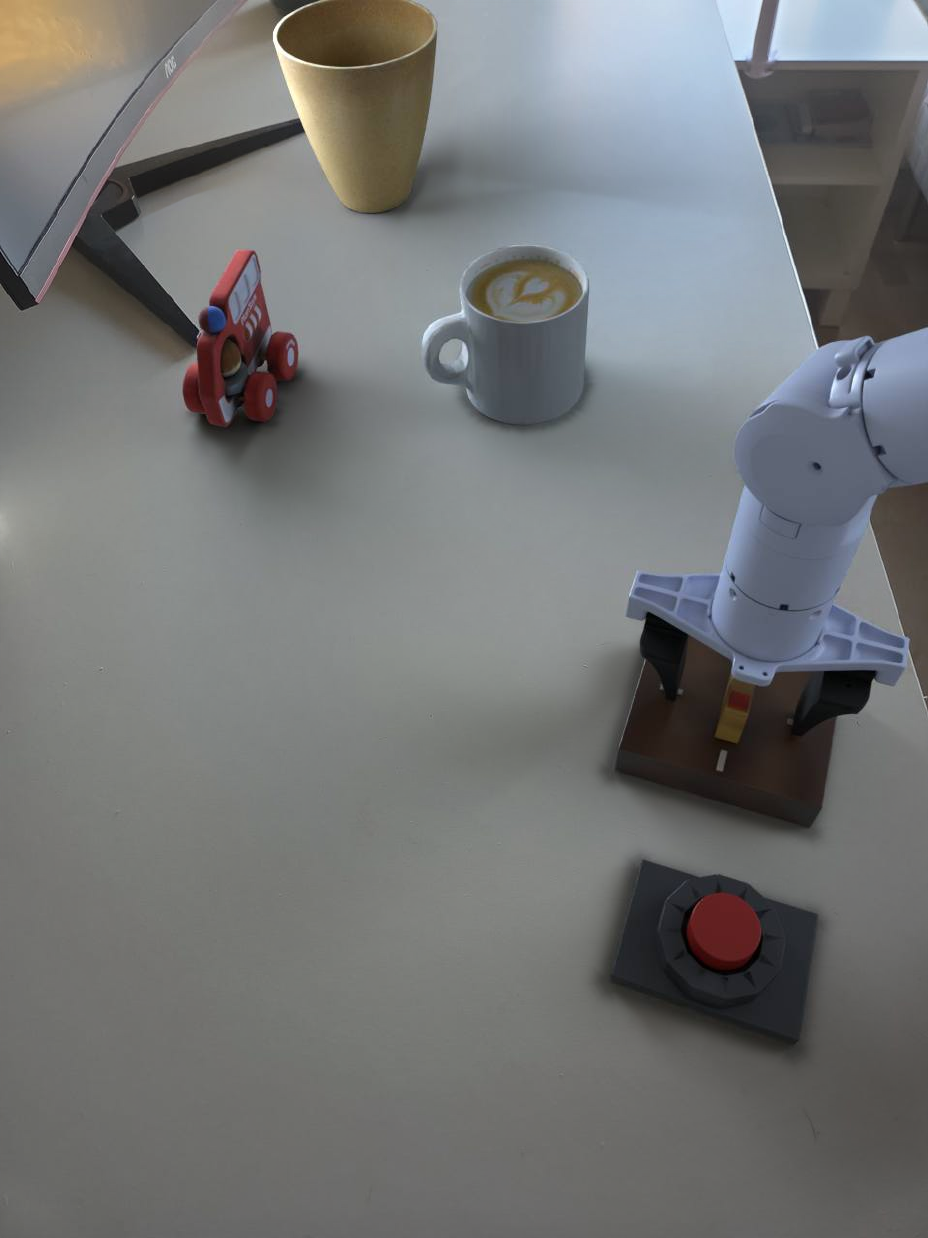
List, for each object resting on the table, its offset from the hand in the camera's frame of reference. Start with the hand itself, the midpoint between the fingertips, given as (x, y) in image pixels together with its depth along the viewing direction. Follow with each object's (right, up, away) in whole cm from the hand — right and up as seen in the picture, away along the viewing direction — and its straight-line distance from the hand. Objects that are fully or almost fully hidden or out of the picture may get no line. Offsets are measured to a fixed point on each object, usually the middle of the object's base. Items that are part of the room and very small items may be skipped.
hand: (735, 704), depth 59 cm
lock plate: (0, -2, +3) cm, 3 cm away
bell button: (-3, -12, -7) cm, 14 cm away
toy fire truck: (-35, +25, +24) cm, 49 cm away
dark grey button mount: (-3, -13, -5) cm, 15 cm away
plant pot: (-26, +49, +41) cm, 69 cm away
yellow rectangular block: (0, 0, 0) cm, 0 cm away
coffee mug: (-13, +25, +23) cm, 36 cm away
